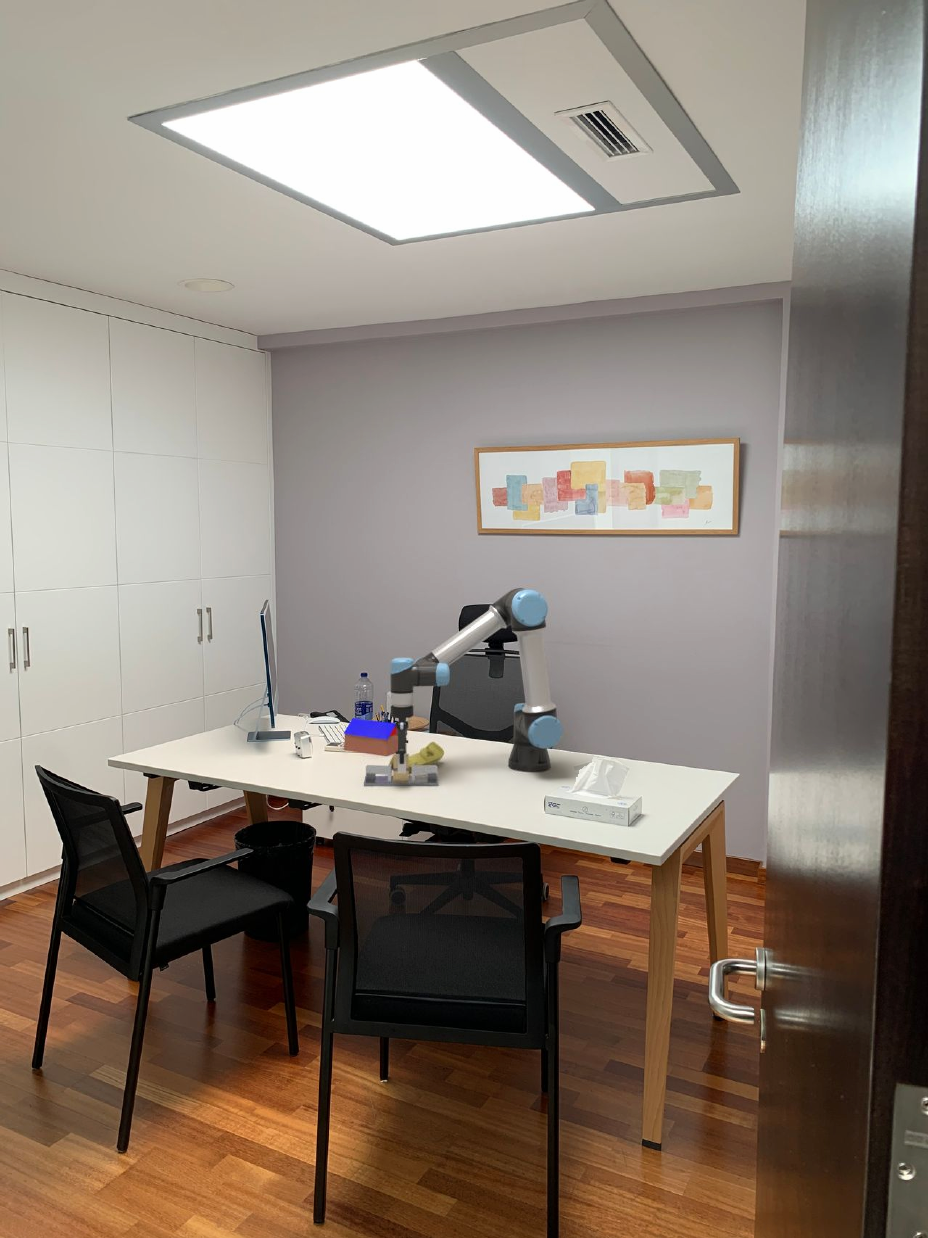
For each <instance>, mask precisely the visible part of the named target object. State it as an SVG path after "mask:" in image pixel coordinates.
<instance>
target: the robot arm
mask: <svg viewBox="0 0 928 1238" xmlns="http://www.w3.org/2000/svg"><path fill="white" fill-rule="evenodd" d="M548 611H549V607H548V603H547V600H546V598H545V597H544V596H543V595H542V594H541V593H539V592H538V591H536V590H534V589H529V588H528V589H525V588H522V587H519V588H513V589H511V590H509V591H507V592H506V593H505V594H503V595H502V596H501V597H500V598H499V599H497V600H496V601H494V602H493V603H492V604H491V605H489V608H488V610H487V611H486V612H485V613H483V614H482V615H480V616H479V617H477V618H476V619H474V620H473V621H472V622H471V623H469V624H467V625H466V626H465V627H463V628H462V629H460V631H458V632H457V633H455V634H454V635H452V636H451V637H450V638H448V639H447V640H446V641H444V642H442V643H441V644H440V645H438V646H437V647H436V648H434V649H433V650H432V651H431V652H429V653H428V654H426V655H425V656H420V657H418V658H417V659H416V660H415V661H414V660H413V658H411V657H395V658H393V659H391V661H390V673H389V674H390V677H389V679H390V694H389V695H388V698H389V699H390V704H391V706H390V717H392V718H394V719H398V721H396V723H395V724H396V728H397V736H398V751H396V753H395V754H398V773H406V754H408V751H407V749H408V748H407V746H408V745H407V744H409V740H408V739H407V735H408V728H409V721H407V719H409V718H412V717H414V693H415V692H414V687H415V688H416V687H417V688H418V687H445V686H447V685H449V683H450V679H451V678H450V677H451V676H450V675H451V674H450V673H451V672H450V667H449V666H450V665H452V664H453V663H454V662H456V661H458V660H459V659H460V658H462V657H463V656H464V655H466V654H467V653H468V652H470V651H471V650H473V649H474V648H475V647H477V646H478V645H480V644H481V643H482V642H484V641H485V640H487V639H488V638H489V637H491V636H493V634H495V633H496V632H498V631H499V630H500V629H507V628H508V627H510V626H511V631H512V633H514V634H515V635H516V638H517V644H518V651H519V653H518V654H519V659H520V660H519V661H520V668H521V669H520V670H521V676H522V683H523V692H524V700H525V702H521V703H516V704H515V705H514V709H513V745H512V748H511V751H510V754H509V758H508V766H507V767H509V768H510V769H511V770H516V771H520V772H521V771H522V772H543V771H547V770H550V768H551V765H552V764H551V763H552V762H551V758H550V755H549V751H548V749H549V748H550V749H551V748H553V747H554V746H555V745H556V746H557V744H558V743H559V742H560V740H561V738H562V737H563V732H564V731H563V726H562V723H561V721H560V720H559V719H558V713H557V711H558V710H557V706H556V704H555V703H554V702H552V699H551V692H550V685H549V684H550V683H549V676H548V669H547V667H548V666H547V660H546V659H547V658H546V651H545V643H544V635H543V634H544V633H543V632H544V631H545V629H547V623H546V618H547V616H548Z"/></svg>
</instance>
